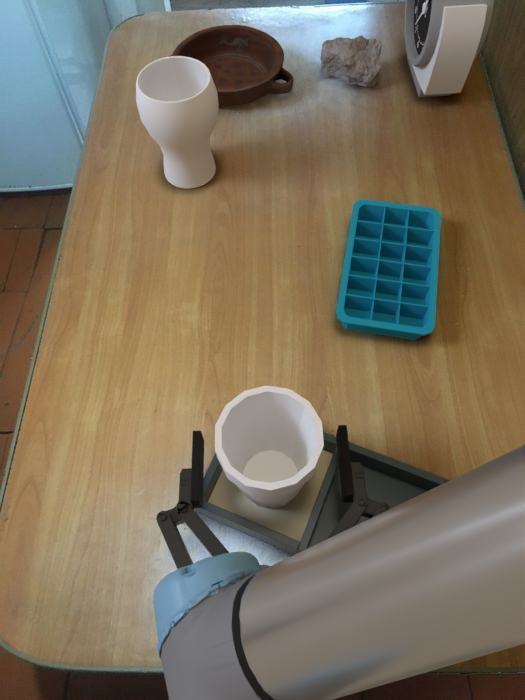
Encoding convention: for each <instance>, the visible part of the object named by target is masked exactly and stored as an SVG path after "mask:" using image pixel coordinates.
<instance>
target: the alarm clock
mask: <svg viewBox="0 0 525 700" xmlns="http://www.w3.org/2000/svg"><path fill="white" fill-rule="evenodd" d="M494 5H495V0H405V4H404V22H403V24H404V43H405V45H404V46H405V51H406V54H407V55H406V60H407V64H408V66H409V70H410V73H411V76H412V79H413V83H414V86H415V89H416V93H417V96H418V98H427V97H428V98H429V97H445V96H452V94H461V93H462V90H463V88H464V86H465V83H466V81H467V79H468V76H469V73H470V70H471V68H472V66H473V62H474V60H475V59H476V58H477V57H478V55H479V54H480V52H481V49H482V48H483V45H484V43H485V40H486V38H487V36H488V32H489V28H490V25H491V21H492V15H493V11H494Z"/></svg>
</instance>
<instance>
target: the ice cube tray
mask: <svg viewBox="0 0 525 700" xmlns="http://www.w3.org/2000/svg"><path fill="white" fill-rule="evenodd" d="M441 225H442V214H441V213H440V211H439V210H437V209H436V208H434V207H429V206H420V205H413V204H403V203H397V202H389V201H382V200H374V199H366V198H362V199H358V200H356V201H355V202H354V203H353V204H352V211H351V217H350V224H349V230H348V236H347V242H346V248H345V254H344V255H345V256H344V259H343V260H344V261H343V267H342V273H341V279H340V285H339V291H338V298H337V303H336V310H335V315H336V317H337V320H338V321H339V322H340V323H341V325H342V327H343V328H344V329H346V331H353V332H359V333H366V334H372V335H379V336H385V337H391V338H398V339H404V340H410V341H416V340H419V339H420V338H421V337H425V336H428V335H431V334H432V332H433V331H434V329H435V327H436V315H437V295H438V277H439V261H440V260H439V259H440V243H441V241H440V240H441V227H442V226H441Z"/></svg>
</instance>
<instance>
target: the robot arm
mask: <svg viewBox="0 0 525 700" xmlns="http://www.w3.org/2000/svg"><path fill="white" fill-rule="evenodd" d="M347 426H348V425H347V424H339V425H338V426H337V430H336V434H335V437H336V441H337V451H338V461H339V471H340V480H341V490H342V500H343V503H349V502H352V504H351V506H350V507H349V509H348V510H347V511H346V513H345V514H344V516H343V517H342V518H341V520H340V521H339V523H338V524H337V525H336V527H335V528H334V530H333V531H332V532H331V534H330V535H329V537H328V538H327V540H325V541H322V542H320V543H318V544H316V545H314V546H312V547H310V548H308V549H306V550H304V551H302V552H299V553H297V554H295V555H293V554H292V555H291V556H289V557H286V558H285V559H282V560H281V561H279V562H277V563H275V564H272V565H268V564H260V562H259V560H258V558H256V556H255V555H253V554H252V553H251V552H249V551H232V552H231V551H229V550H228V549H227V548H226V547H225V546H224V544H223V543H222V542H221V541H220V540H219V538H218V537H217V536H216V535H215V533H214V532H213V531H212V530H211V529H210V528H209V526H208V525H207V523H206V522H205V521H204V520H203V519H202V518H201V517H200V515H198V514H199V513H197V512H196V511H195V509H194V508H203V478H204V475H205V474H204V471H205V469H204V468H205V439H204V436H203V432H202V430H192V442H191V443H192V445H191V467H189V468H181V470H180V472H179V482H178V485H179V486H178V487H179V488H178V500H177V503H176V505H175V506H174V507H173V508H170V509H167V510H161V511H159V512H158V513H156V518H155V519H156V520H155V521H156V523H157V525H158V527H159V530H160V532H161V534H162V536H163V539H164V542H165V543H166V546H167V548H168V551H169V553H170V555H171V557H172V560H173V562H174V564H175V567H176V569H175V570H173V571H172V572H170V573H168V574H166V575H165V576H164V577H163V578H162V579H161V580H160V581H159V582H158V584H157V585H156V586H155V588H154V592H153V596H152V599H153V600H152V604H153V611H154V618H155V626H156V633H157V641H158V642H157V645H156V648H157V652H158V657H159V659H160V661H161V667H162V671H163V676H164V680H165V685H166V691H167V696H168V700H336V699H339V698H343V697H346V696H350V695H354V694H356V693H360V692H363V691H367V690H370V689H373V688H377V687H381V686H385V685H387V684H390V683H394V682H398V681H401V680H406V679H408V678H412V677H415V676H418V675H422V674H425V673H430V672H432V671H435V670H439V669H442V668H446V667H449V666H452V665H456V664H461V663H464V662H467V661H470V660H473V659H478V658H480V657H484V656H487V655H491V654H494V653H498V652H500V651H501V652H502V651H504V650H507V649H511V648H515V647H518V646H522V645H525V444H523V445H521V446H518V447H517V448H515V449H513V450H511V451H509V452H507V453H504V454H502V455H500V456H498V457H496V458H494V459H492V460H490V461H488V462H486V463H484V464H482V465H479V466H477V467H475V468H473V469H471V470H469V471H467V472H464V473H463V474H460V475H458V476H456V477H454V478H452V479H449V480H450V481H448V482H446V483H444V484H442V485H439V486H437V487H435V488H433V489H431V490H429V491H427V492H425V493H423V494H421V495H419V496H416V497H414V498H412V499H410V500H408V501H406V502H404V503H402V504H400V505H398V506H396V507H393V508H391V509H390V507H389V506H388V504H386V503H383V502H382V503H378V502H375V501H372V500H371V499H369V498H368V496H367V494H366V486H365V478H364V470H363V466H362V464H361V462H351V460H350V451H349V442H350V441H349V435H348V427H347ZM362 516H364V517H367V518H370V519H368V520H366V521H364V522H362V523H360V524H358V525H356V524H357V522H358V521H359V519H360V518H361V517H362ZM182 524H185V525H186V526H187V527H188V529H190V531H191V532H192V533H193V535H194V536H195V537H196V538H197V540H198V541H199V542H200V543H201V545H202V546H203V547H204V548H205V549H206V551H207V552H208V553H209V554H210V555H211V556H210V557H206V558H203V559H200V560H196V562H193V559H192V557H191V555H190V553H189V550H188V548H187V546H186V544H185V542H184V540H183V536H182V535H181V532H180V530H179V528H178V526H180V525H182ZM355 525H356V526H355Z"/></svg>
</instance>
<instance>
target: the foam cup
mask: <svg viewBox="0 0 525 700" xmlns="http://www.w3.org/2000/svg"><path fill="white" fill-rule="evenodd" d="M323 430H324V429H323V421H322V420H321V417H320V416H319V415H318V412H317V411H316V410H315V408H314V407H313V404H312V403H311V402H310V401H309V400H308V399H307V398H304V397H303V396H301V395H300V394H298V393H297V392H296V391H294V390H292V389H291V388H285V387H281V386H274V385H268V384H267V385H263V386H258V387H255V388H251V389H245V390H243V391H242V392H241V393H239V394H238V395H237V396H236V397H234V398H233V399H232V400H230V401H229V402H228V403H226V404H225V405H224V407H223V410H222V411H221V413H220V414H219V417H218V418H217V421H216V423H215V425H214V452H215V453H216V455H217V458H218V460H219V462H220V464H221V466H222V468H223V470H224V472H225V474H226V476H227V478H228V479H229V480H230V481H231V482H233V483H234V484H235V485H236V486H237V487H238V488H239V489H240V490H241V492H242V493H243V494H244V495H245V496H246V498H248V499H249V500H250V501H251V502H253V503H254V504H255V505H257V506H258V507H262V508H267V509H275V508H279V507H283V506H286V505H287V504H288V503H289V502H290V501H291V500H292V499H294V498H295V497H296V495H297V494H298V493H299V491H300V490H301V488H302V487H303V486H304V484H305V483H306V482H307V481H308V480H309V479H310V478H311V477H312V476H313V475H314V473H315V470H316V468H317V465H318V463H319V460H320V458H321V456H322V452H323V447H324V440H323V432H324V431H323Z"/></svg>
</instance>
